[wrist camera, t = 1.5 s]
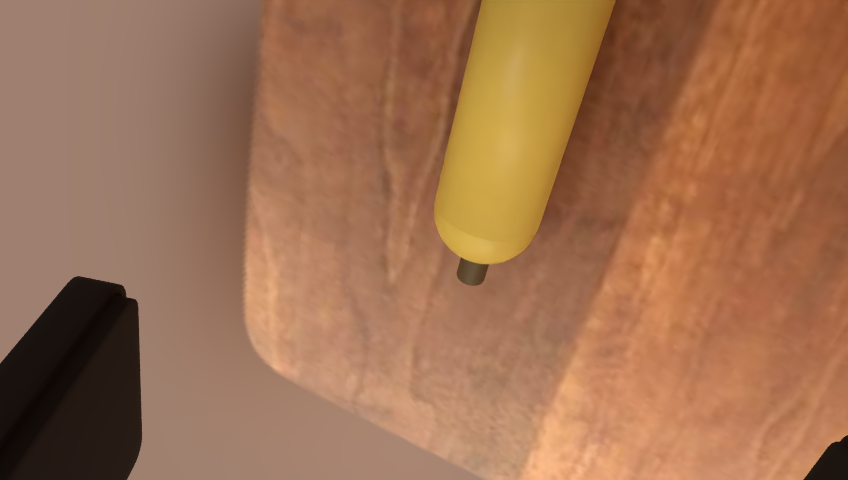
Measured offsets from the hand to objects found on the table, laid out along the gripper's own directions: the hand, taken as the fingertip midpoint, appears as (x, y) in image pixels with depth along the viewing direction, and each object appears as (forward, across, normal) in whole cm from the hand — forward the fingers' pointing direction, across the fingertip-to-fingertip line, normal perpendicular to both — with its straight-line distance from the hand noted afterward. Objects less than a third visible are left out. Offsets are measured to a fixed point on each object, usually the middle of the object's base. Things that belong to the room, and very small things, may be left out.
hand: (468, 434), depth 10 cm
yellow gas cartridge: (+16, 0, 0) cm, 16 cm away
